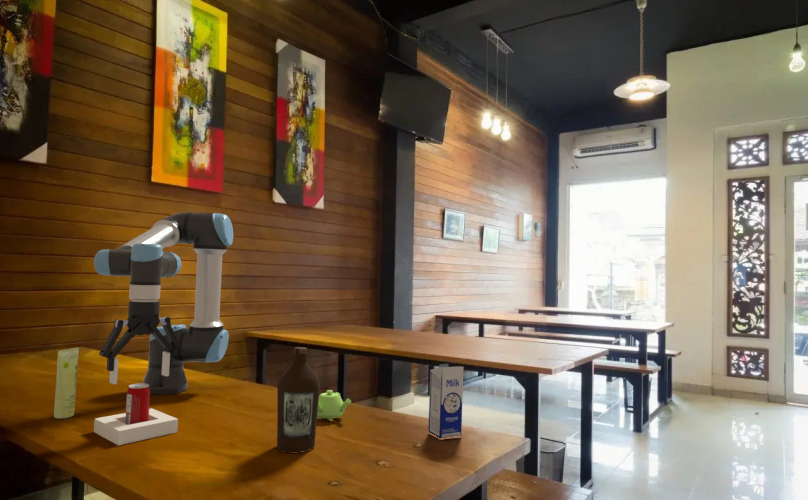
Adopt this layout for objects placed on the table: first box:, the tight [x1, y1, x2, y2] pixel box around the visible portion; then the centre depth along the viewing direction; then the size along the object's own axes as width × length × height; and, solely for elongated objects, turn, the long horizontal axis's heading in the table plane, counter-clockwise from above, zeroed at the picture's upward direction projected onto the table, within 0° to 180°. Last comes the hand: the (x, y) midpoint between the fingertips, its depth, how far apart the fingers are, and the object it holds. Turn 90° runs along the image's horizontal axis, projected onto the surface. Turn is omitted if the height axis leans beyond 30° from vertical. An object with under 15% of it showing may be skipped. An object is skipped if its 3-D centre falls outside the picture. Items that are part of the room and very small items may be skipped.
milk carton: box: [427, 363, 465, 438], centre depth 142 cm, size 7×7×20 cm
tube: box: [53, 346, 80, 419], centre depth 146 cm, size 6×5×20 cm
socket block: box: [93, 407, 179, 446], centre depth 135 cm, size 15×15×4 cm
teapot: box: [317, 389, 352, 421], centre depth 155 cm, size 11×12×8 cm
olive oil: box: [276, 346, 321, 453], centre depth 128 cm, size 11×11×25 cm
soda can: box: [125, 382, 151, 425], centre depth 135 cm, size 6×6×12 cm
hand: (140, 379), depth 136 cm, fingers open, 13 cm apart
